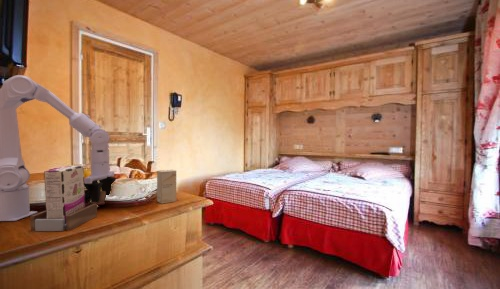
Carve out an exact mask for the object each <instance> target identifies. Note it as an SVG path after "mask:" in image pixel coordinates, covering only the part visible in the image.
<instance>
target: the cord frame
mask: <svg viewBox="0 0 500 289" xmlns="http://www.w3.org/2000/svg"><path fill="white" fill-rule="evenodd" d="M105 198H106V199H107V197H106V191H102V190H100V199H99V202H97V203H100V202H104V201H105ZM98 207H99V206H98V205H97V208H98ZM65 230H67V228H66V224H65V219H36V220H35V232H64V231H65Z"/></svg>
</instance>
